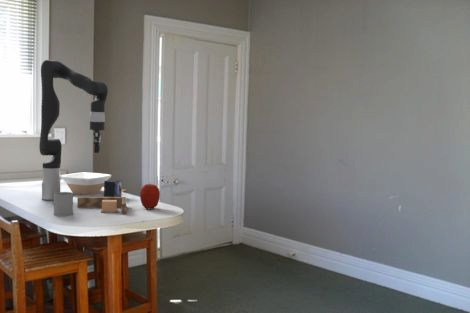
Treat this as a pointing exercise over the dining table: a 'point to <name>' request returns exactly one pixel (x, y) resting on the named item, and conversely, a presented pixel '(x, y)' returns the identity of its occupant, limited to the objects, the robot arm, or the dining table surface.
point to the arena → (100, 202)
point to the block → (109, 205)
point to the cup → (63, 203)
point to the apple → (149, 196)
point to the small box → (112, 188)
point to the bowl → (85, 182)
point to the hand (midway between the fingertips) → (96, 152)
